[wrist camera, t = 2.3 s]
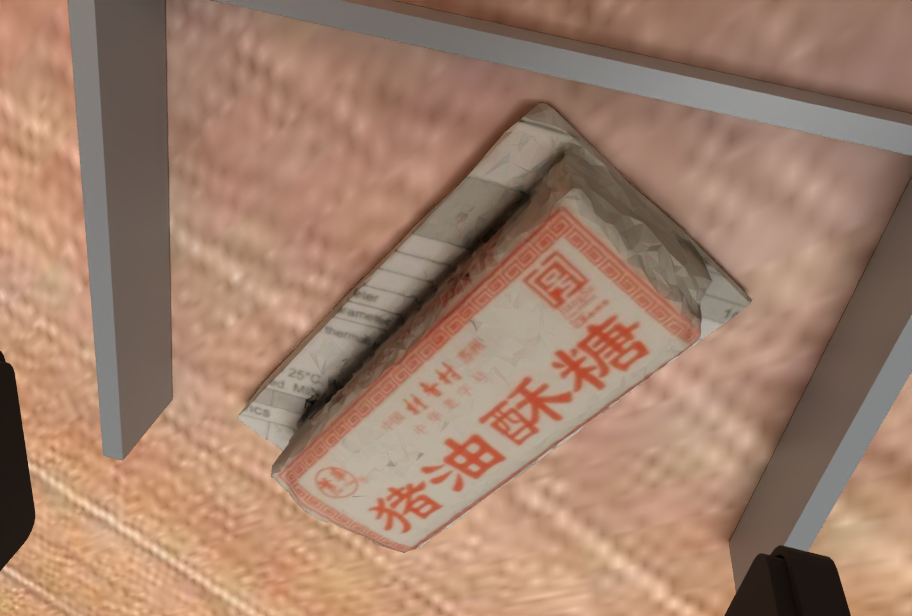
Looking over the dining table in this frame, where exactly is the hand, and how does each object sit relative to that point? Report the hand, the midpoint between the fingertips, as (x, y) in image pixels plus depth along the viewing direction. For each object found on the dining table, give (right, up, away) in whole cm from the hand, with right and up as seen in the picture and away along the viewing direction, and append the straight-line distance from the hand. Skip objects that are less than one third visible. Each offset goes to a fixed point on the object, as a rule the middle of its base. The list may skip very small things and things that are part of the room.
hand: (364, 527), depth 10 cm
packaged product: (+2, +1, +21) cm, 21 cm away
